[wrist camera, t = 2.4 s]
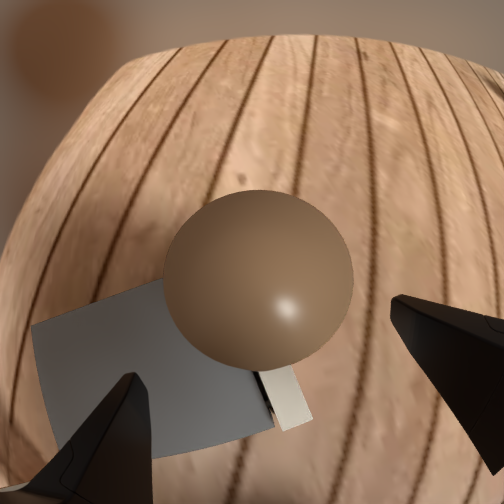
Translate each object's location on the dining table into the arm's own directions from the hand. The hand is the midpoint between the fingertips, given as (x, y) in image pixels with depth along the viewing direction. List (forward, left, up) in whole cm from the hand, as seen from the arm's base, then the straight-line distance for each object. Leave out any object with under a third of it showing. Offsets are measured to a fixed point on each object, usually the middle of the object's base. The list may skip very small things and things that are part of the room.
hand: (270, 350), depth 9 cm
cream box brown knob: (+5, +4, -10) cm, 12 cm away
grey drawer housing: (+6, +5, -11) cm, 13 cm away
